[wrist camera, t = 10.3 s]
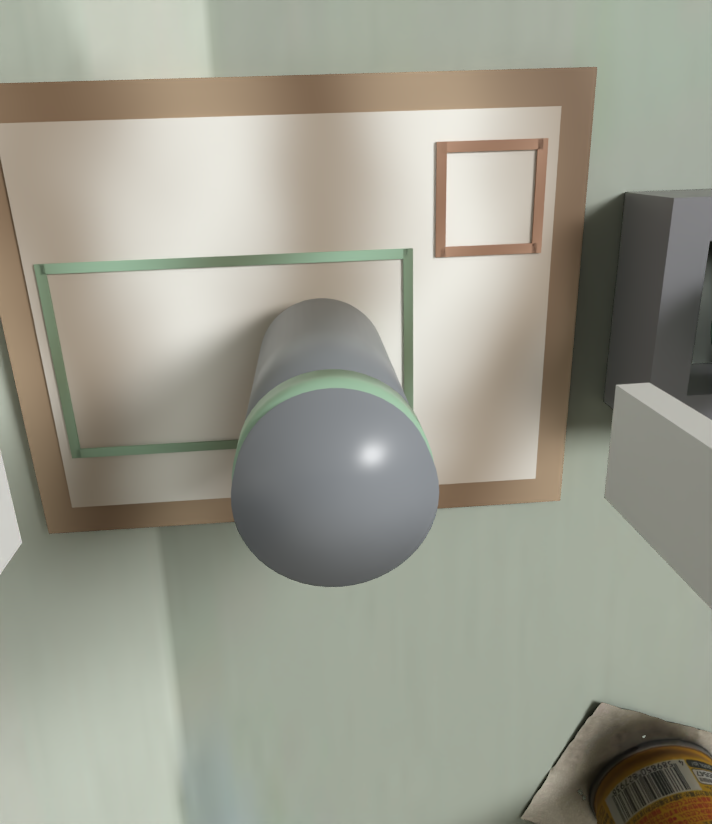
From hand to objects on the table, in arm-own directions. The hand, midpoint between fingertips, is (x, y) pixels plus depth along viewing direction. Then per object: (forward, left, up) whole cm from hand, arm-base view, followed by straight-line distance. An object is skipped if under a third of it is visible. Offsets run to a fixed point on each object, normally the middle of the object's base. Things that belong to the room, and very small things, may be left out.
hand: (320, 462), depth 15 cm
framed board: (0, +1, -9) cm, 9 cm away
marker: (0, 0, -8) cm, 8 cm away
